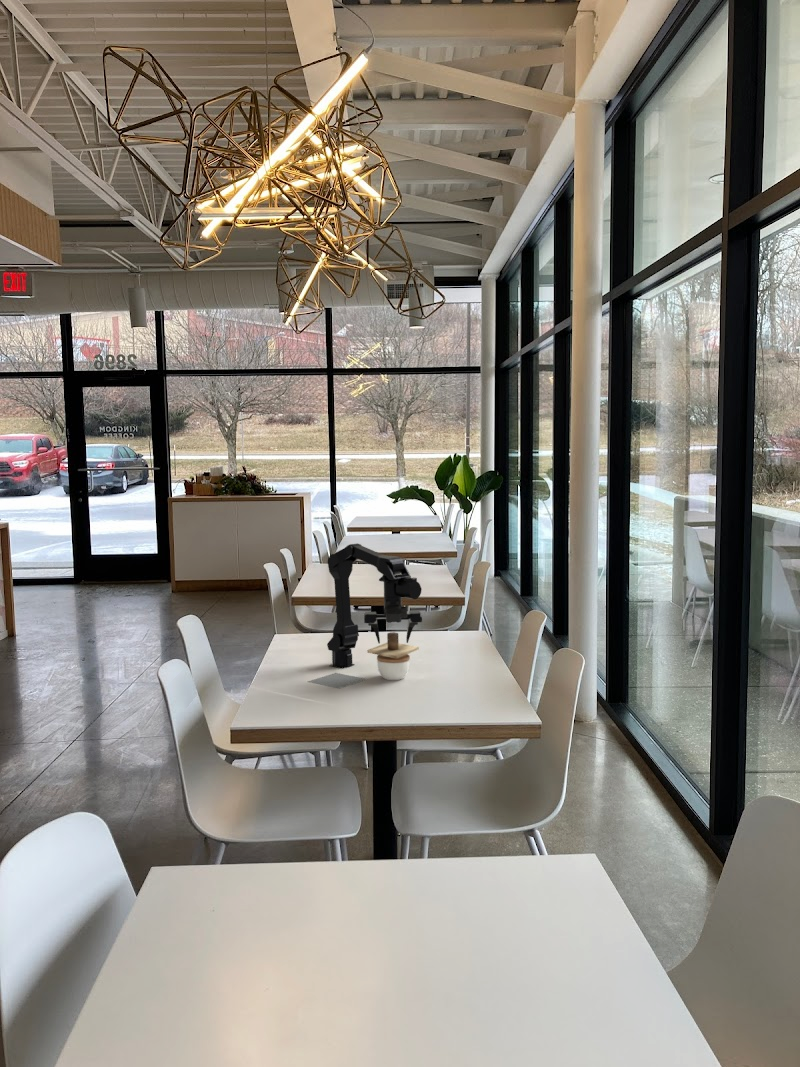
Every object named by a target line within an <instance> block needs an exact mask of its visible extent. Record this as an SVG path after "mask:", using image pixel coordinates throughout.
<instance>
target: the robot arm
mask: <svg viewBox="0 0 800 1067" xmlns="http://www.w3.org/2000/svg"><path fill="white" fill-rule="evenodd" d="M358 560H359V561H361V562H364V563H367V564H369V565H371V566H373V567H374V568H376V571H378V572H379V573H380V574H382V576H381V577H380V578H379V579H378V581H379V582H383V613H382V614H378V613H377V611H365V612H364V613H363V614H364V615H363V619H364V620H363V621H364V624H368V626H369V627H370V626H371V627H372V630H373V631H374V633H375V636H376V640H377V644H380V643H381V639H380V633H379V632H380V631H379V625H378V621H386V622H387V623H389V624H390V623H401V622H402V621H403V620H406V621H407V627H406V629H407V630H406V636H405V637H406V642H405V643H406V644H408V643H409V642H410V641H409V640H410V637H411V634H412V631H413V629H414V627H415V626H417V625H419V623H423V614H422V612H421V611H420V610H409V611H408V606H402V604H403V603H402V600H403V599H410V600H417V599H418V598H420V596H421V594H422V587H421V583H420V582H418V579H417V577H412V576H411V573H410V572H409V570H408V568H407V566H406V564H405V562H404V559H403V558H402V557H400V556H396V555H385V554H382V553H380V552H378V551H374V550H373V549H370V548H368V547H366V546H364V545H362V543H350V544H348V545H346V546H345V547H344V548H342V549H340V550H338V551H336V552H335V553H332V554H330V555H329V557H328V558H327V566H328V572H329V574H330V575H331V577H332V578H333V581H334V582H333V583H334V594H335V598H334V599H335V609H336V610H335V611H336V623H335V624H334V627H333V631H332V637H331V639H330V640H329V641H328V642H327V644H326V646H327V650H328V651H331V656H332V657H331V659H332V660H331V661H332V663H331V664H330V665H329V667H332V668H336V669H341V670H342V669H347V668H350V667H353V666H355V663H353V653H352V649H355V648H356V645H357V642H358V639H359V636H360V634H359V626H358V623H357V624H355V623H354V621H353V619H352V609H351V595H350V593H351V592H350V580H349V579H350V576H351V574H352V572H353V569H354V568H353V565H354V563H355V562H356V561H358ZM402 598H403V599H402ZM380 645H381V644H380Z"/></svg>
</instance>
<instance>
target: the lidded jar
mask: <svg viewBox="0 0 800 1067" xmlns="http://www.w3.org/2000/svg"><path fill="white" fill-rule="evenodd" d="M410 657H411V656H410V654H407V655H404V656H402V657H399V658H397V659H396V658H391V657H386V656H382V655H376V660H377V661H376V662H377V670H378V672H379V674H380V676H381V677H382V678H383V679H384V680H386V681H399V680H400V679H401V680H403V679H404V678H405V677H406V676H407V674H408V672H409V670H410V669H409V668H410V660H411V659H410ZM401 680H400V681H401Z"/></svg>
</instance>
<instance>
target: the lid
mask: <svg viewBox="0 0 800 1067" xmlns="http://www.w3.org/2000/svg"><path fill="white" fill-rule="evenodd" d="M386 638H387V642H385V643H383V644H380V645H377V646H375V647H372V648H370V649H368V650H367V651H366V652H367V653H368V654H374V655H376V656H378V655H382V656H386V657H391V658H396V659H397V658H399V657H402V656H404V655H407V654H408V655H410V654H411V653H414V652H416V651H418V650H419V648H420V647H419V646H414V645H411V644H410V645H409V644H405V643H399V642H400V641H399V632H396V631H395V632H394V631H393V632H388V633H387V636H386Z"/></svg>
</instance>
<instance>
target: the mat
mask: <svg viewBox="0 0 800 1067" xmlns="http://www.w3.org/2000/svg"><path fill="white" fill-rule="evenodd" d="M366 679H367V678H366V677H365V678H364V677H360V676H354V675H349V674H343V673H338V672H334V673H330V674H327V675H325V676H320V677H317V678H315V679H311V680H308V681H307V683H312V684H315V685H322V686H325V687H331V688H335V689H342V688H346V687H349V686H352V685H356V684H357V683H360V682H364V681H366ZM363 680H364V681H363Z"/></svg>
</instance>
